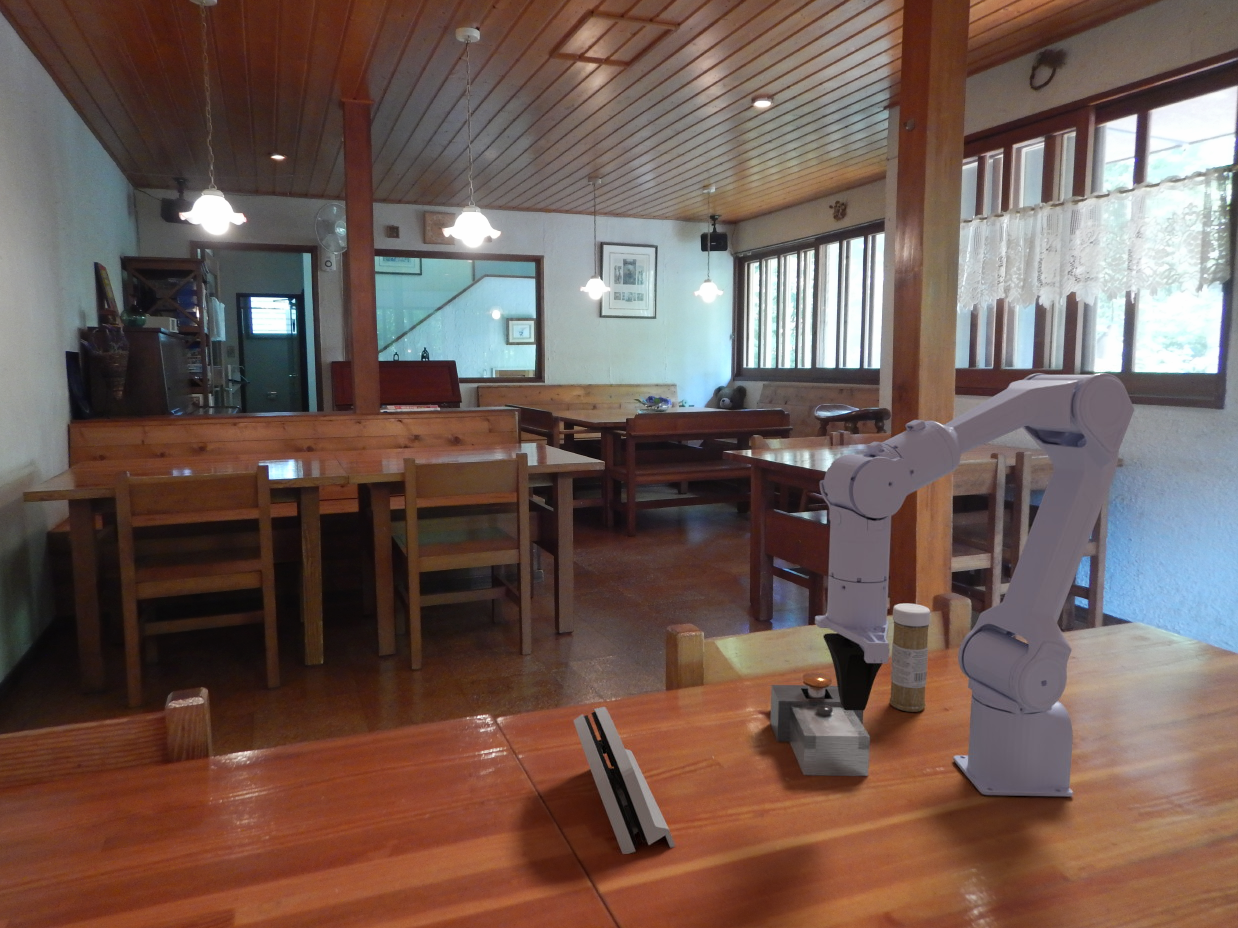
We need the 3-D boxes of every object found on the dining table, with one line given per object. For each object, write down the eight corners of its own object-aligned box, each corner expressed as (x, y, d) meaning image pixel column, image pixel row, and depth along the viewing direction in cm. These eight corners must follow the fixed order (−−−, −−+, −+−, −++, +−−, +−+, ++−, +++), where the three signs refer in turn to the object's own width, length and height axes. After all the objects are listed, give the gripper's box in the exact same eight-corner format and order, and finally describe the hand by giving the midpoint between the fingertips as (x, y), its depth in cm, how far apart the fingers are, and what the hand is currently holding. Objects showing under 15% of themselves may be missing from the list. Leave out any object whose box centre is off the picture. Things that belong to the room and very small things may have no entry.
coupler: (873, 760, 90) (875, 718, 90) (784, 759, 91) (785, 716, 90) (839, 707, 105) (841, 670, 104) (763, 705, 105) (764, 669, 105)
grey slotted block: (676, 848, 73) (641, 753, 72) (629, 870, 72) (592, 775, 71) (635, 762, 90) (606, 683, 88) (596, 780, 89) (566, 701, 87)
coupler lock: (868, 775, 87) (870, 731, 86) (803, 774, 87) (805, 730, 86) (848, 742, 95) (850, 701, 94) (789, 741, 95) (790, 700, 94)
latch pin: (833, 718, 95) (834, 683, 95) (804, 718, 95) (805, 682, 95) (826, 707, 99) (827, 672, 98) (799, 706, 99) (800, 672, 98)
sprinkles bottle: (912, 697, 108) (917, 601, 107) (932, 711, 104) (937, 610, 102) (882, 700, 107) (886, 603, 106) (901, 714, 103) (905, 613, 101)
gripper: (802, 558, 87) (798, 679, 88) (836, 595, 72) (830, 738, 74) (868, 559, 86) (862, 680, 88) (914, 596, 72) (907, 740, 74)
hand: (852, 707), depth 81 cm, fingers closed
